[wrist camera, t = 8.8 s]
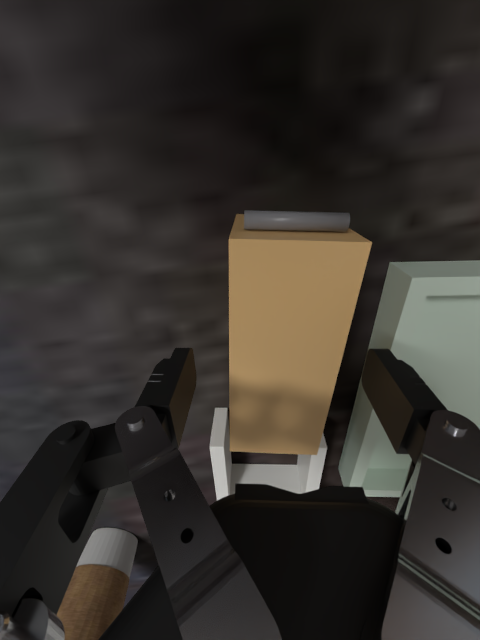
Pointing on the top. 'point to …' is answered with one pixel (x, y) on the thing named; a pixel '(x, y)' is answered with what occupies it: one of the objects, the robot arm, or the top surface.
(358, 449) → the tray
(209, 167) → the top surface
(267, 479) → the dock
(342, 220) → the box with top handle
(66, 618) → the coffee cup
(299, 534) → the robot arm
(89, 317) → the top surface
